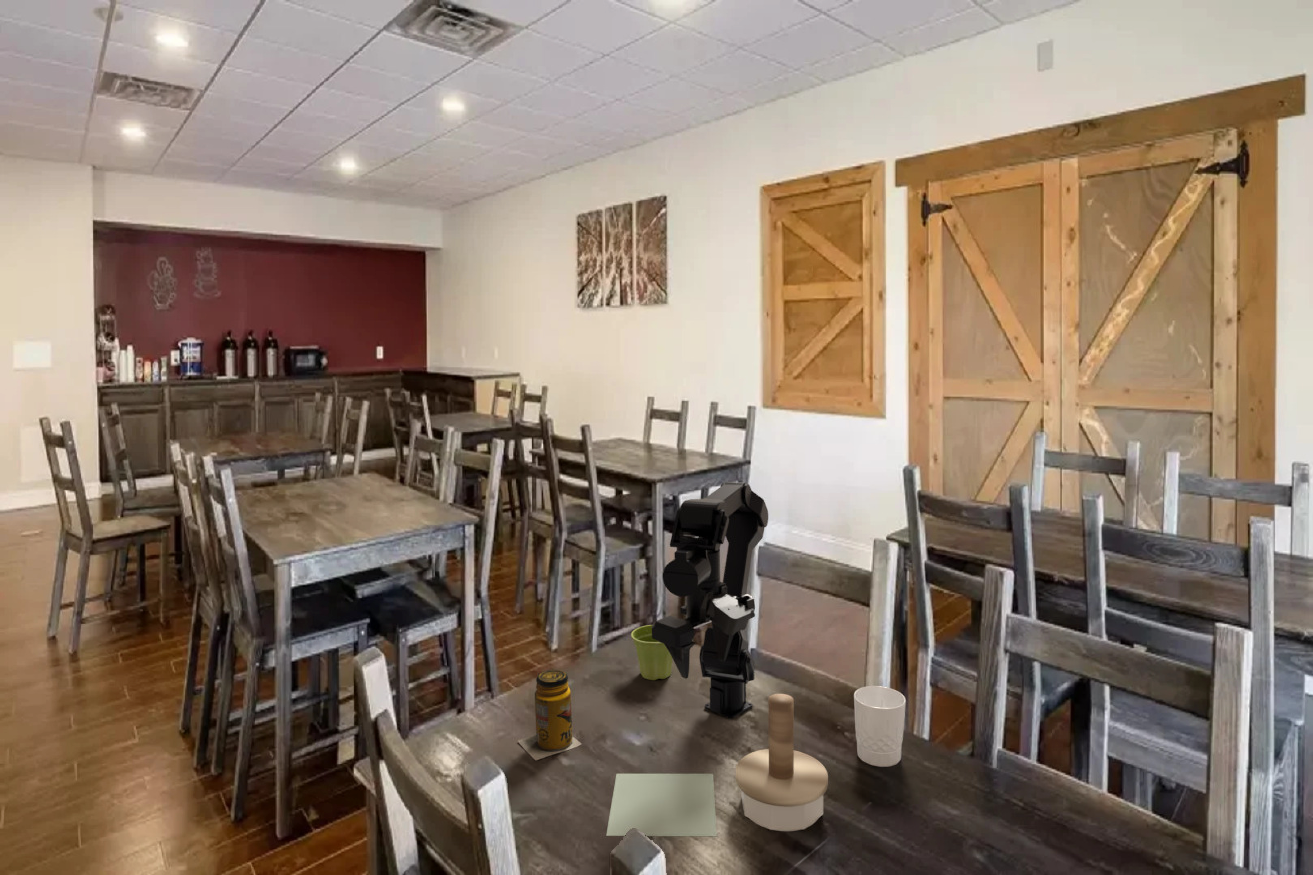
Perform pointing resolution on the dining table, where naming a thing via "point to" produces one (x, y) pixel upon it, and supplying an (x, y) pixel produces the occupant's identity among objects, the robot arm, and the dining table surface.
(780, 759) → the birch cover
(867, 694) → the white cup
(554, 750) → the condiment
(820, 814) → the ceramic bowl
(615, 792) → the sage mat
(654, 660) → the plant pot
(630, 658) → the dining table surface
